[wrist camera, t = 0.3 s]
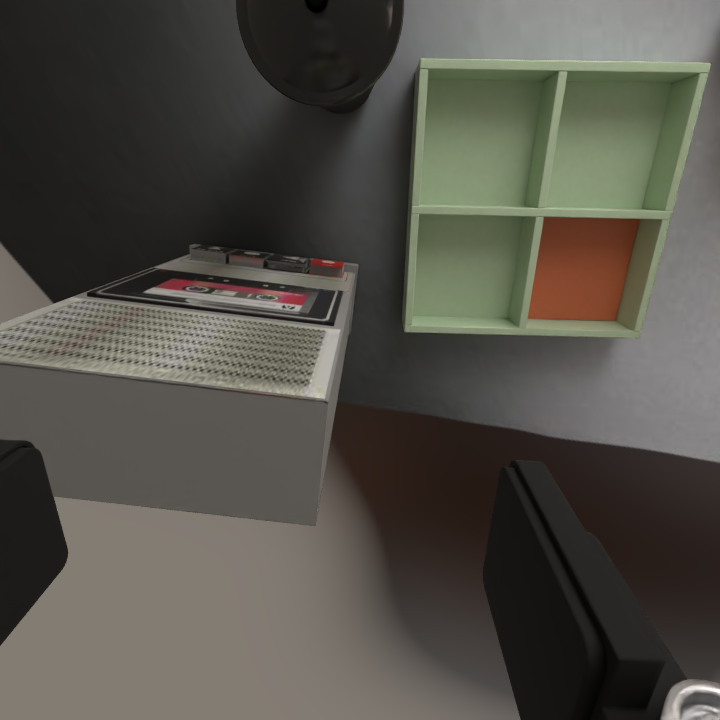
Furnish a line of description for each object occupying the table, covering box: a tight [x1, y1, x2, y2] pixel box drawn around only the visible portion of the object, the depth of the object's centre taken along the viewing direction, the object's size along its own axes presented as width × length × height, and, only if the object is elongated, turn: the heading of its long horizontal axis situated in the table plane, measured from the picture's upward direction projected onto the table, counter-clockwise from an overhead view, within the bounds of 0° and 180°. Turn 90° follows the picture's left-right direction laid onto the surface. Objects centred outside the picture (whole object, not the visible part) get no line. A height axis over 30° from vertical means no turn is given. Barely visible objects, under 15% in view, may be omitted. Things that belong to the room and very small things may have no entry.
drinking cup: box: [236, 0, 404, 114], centre depth 24 cm, size 8×8×20 cm
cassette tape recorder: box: [0, 244, 359, 526], centre depth 27 cm, size 14×6×25 cm, turn 83°
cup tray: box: [402, 59, 711, 338], centre depth 34 cm, size 19×19×3 cm
